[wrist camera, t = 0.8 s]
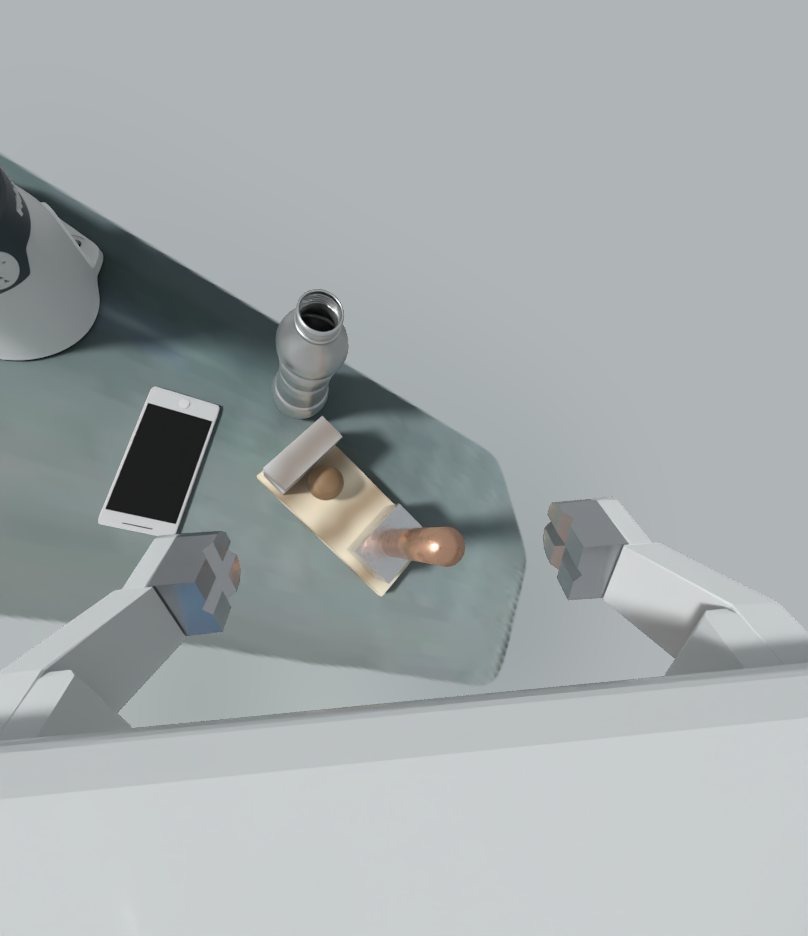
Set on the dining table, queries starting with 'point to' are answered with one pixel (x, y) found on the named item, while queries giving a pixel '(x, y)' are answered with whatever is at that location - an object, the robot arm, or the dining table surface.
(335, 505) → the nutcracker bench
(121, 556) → the dining table surface
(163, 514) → the smartphone
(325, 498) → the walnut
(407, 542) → the copper post with base
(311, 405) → the plastic bottle
